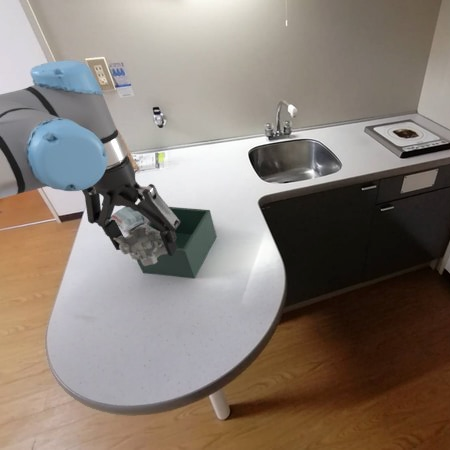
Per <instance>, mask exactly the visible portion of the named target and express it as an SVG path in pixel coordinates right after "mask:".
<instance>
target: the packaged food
mask: <svg viewBox="0 0 450 450" xmlns="http://www.w3.org/2000/svg"><path fill="white" fill-rule="evenodd" d="M111 217H112V218H111V219H110V220H109V221H111V220H115V221H116V223H117V225H118V227H119V228H120V229H122V231H123V232H124V233H126V232H129V231H131V230H132V229H135V228H137V226H138V227H139V226H141V225H143V223H147V221H149V220H148V219H147V218H146V217H144V216H143V215H142V214H141V213H140V212H138V211H134V210H133V209H131V208H130V207H125V206H123V207H122V208H119V209H118V210H116V211H115V212H114V213H112V215H111Z"/></svg>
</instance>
